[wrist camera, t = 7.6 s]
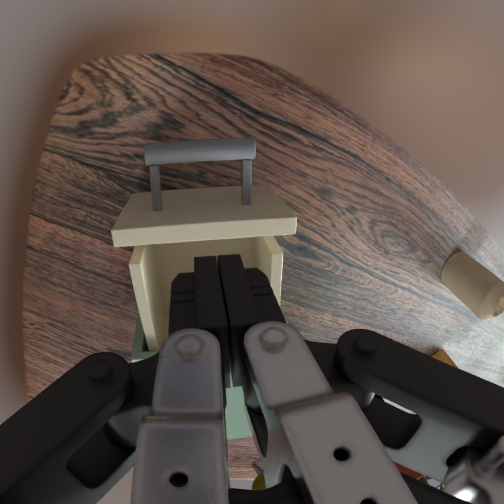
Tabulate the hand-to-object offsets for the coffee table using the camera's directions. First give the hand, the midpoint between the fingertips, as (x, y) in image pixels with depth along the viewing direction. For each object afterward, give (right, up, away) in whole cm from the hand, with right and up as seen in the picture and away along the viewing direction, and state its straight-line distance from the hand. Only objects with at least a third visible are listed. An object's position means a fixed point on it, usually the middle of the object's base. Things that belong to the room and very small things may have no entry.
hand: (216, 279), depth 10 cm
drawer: (-3, +3, +16) cm, 17 cm away
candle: (+29, -1, +26) cm, 39 cm away
